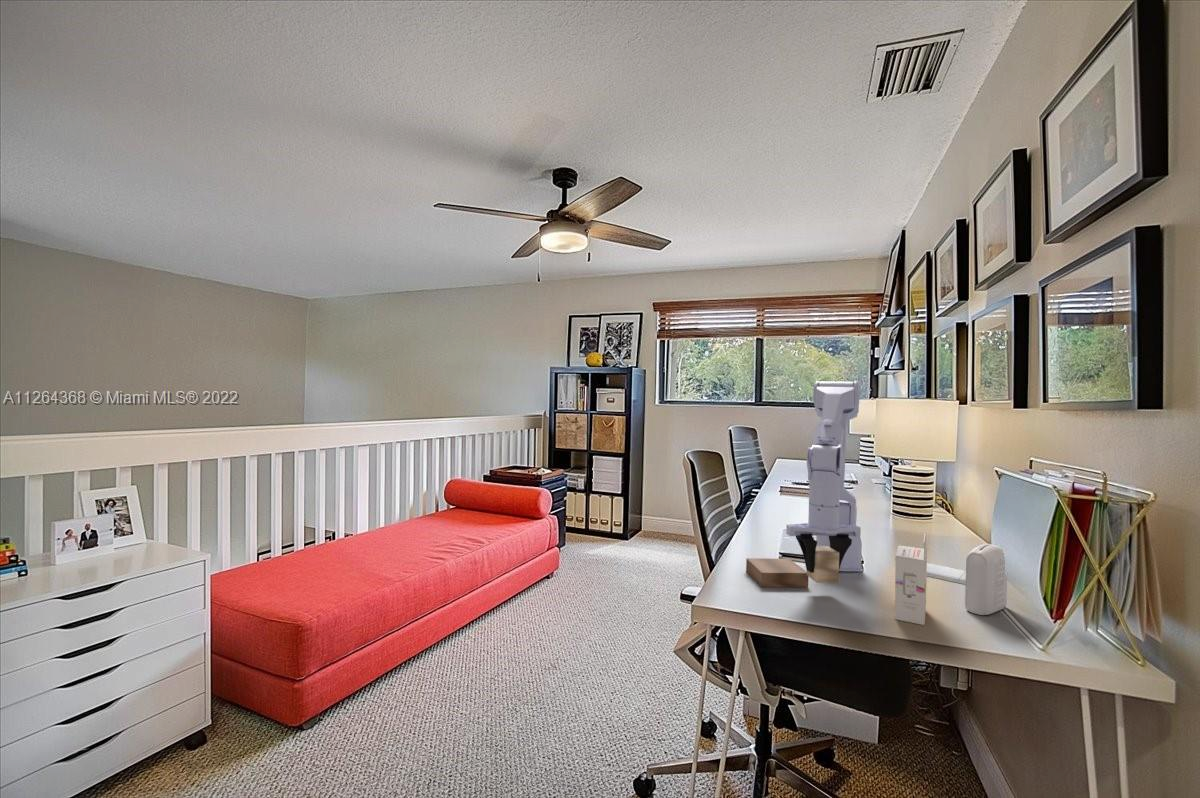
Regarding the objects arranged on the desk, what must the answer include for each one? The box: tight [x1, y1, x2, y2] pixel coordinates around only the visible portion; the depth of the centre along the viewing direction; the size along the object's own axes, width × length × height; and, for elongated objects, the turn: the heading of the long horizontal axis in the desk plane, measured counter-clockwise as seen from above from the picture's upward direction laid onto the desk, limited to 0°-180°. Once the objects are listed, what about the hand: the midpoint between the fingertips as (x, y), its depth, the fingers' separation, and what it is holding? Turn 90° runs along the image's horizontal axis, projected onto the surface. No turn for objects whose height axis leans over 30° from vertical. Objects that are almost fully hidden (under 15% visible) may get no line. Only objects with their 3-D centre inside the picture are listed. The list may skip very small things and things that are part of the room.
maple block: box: [806, 546, 840, 584], centre depth 108 cm, size 4×4×6 cm
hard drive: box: [927, 562, 966, 585], centre depth 124 cm, size 2×8×12 cm
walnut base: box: [745, 557, 810, 588], centre depth 117 cm, size 10×10×3 cm
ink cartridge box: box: [894, 533, 928, 626], centre depth 99 cm, size 9×5×15 cm, turn 148°
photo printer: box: [964, 543, 1008, 616], centre depth 103 cm, size 10×4×12 cm, turn 123°
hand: (822, 571), depth 109 cm, fingers closed on maple block, 4 cm apart
